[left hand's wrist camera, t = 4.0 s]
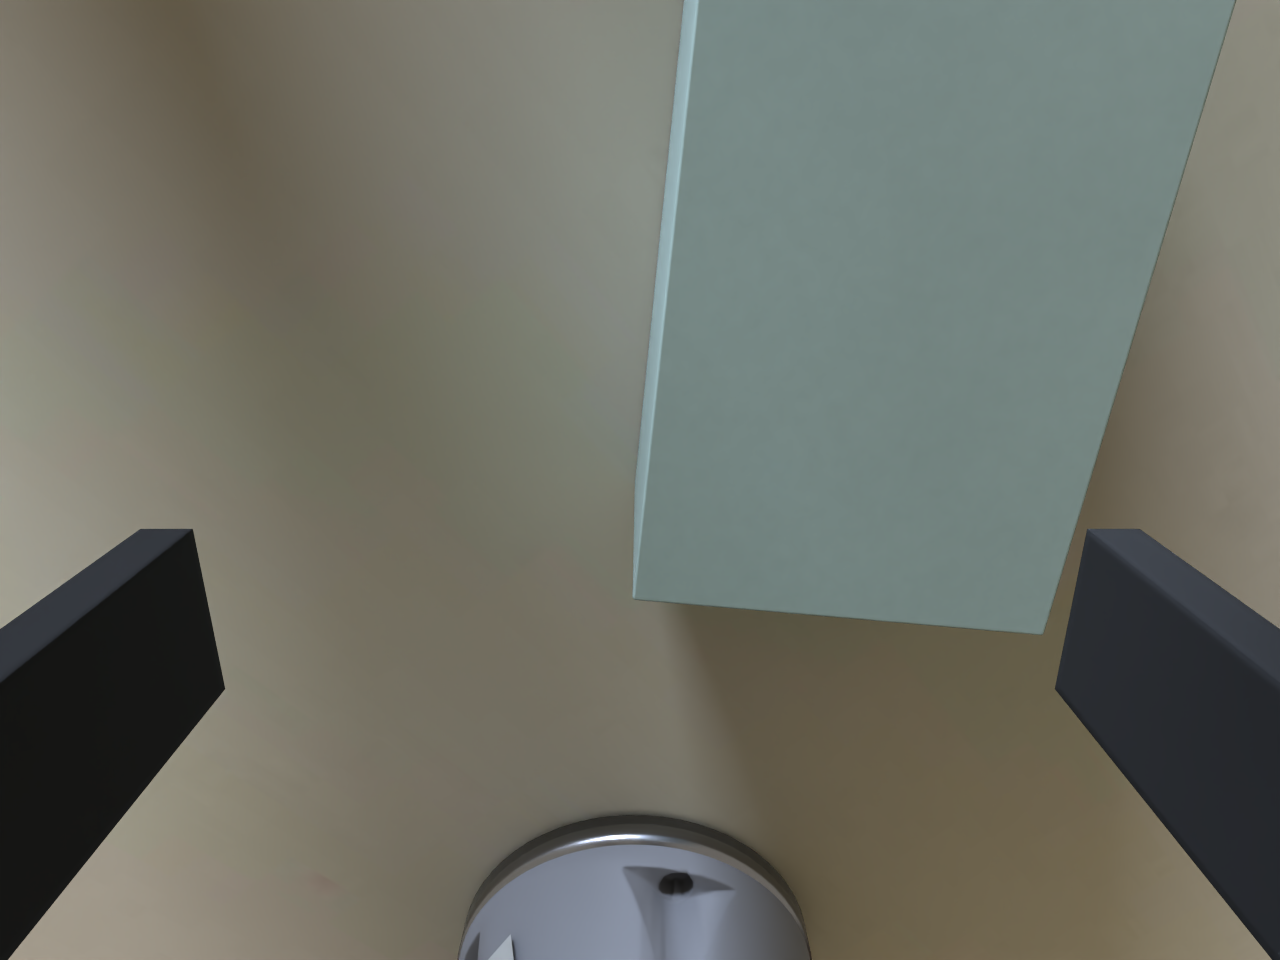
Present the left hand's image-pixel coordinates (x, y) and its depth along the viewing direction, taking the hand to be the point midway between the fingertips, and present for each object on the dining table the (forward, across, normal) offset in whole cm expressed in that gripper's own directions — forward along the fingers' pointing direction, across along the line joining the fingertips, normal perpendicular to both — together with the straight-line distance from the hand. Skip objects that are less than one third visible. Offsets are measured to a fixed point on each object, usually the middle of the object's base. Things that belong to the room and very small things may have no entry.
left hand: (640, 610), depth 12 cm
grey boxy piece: (+17, -6, -4) cm, 18 cm away
